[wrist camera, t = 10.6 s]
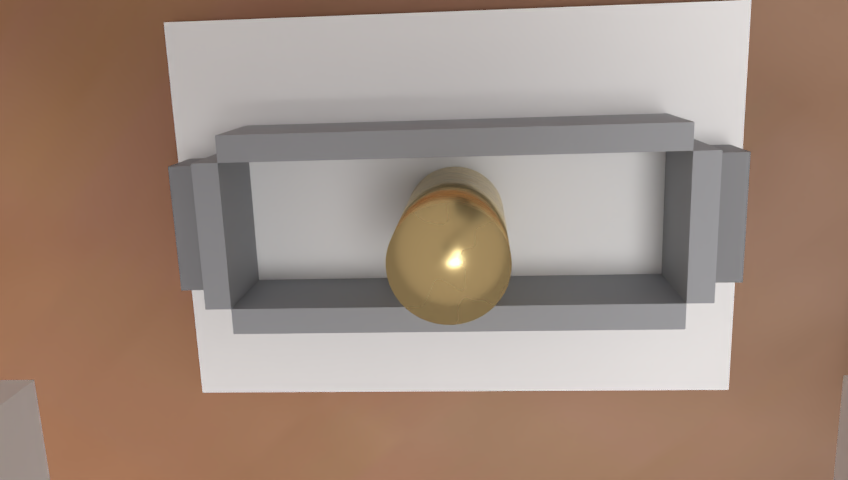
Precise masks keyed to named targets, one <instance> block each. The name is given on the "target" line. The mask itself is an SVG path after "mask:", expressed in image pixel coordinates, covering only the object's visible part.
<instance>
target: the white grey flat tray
mask: <svg viewBox="0 0 848 480" xmlns="http://www.w3.org/2000/svg"><path fill="white" fill-rule="evenodd" d="M750 16H751V0H736V1H709V2H683V3H657V4H631V5H605V6H579V7H553V8H527V9H501V10H474V11H448V12H422V13H396V14H370V15H344V16H318V17H292V18H265V19H239V20H213V21H187V22H164V30H165V40H166V49H167V59H168V68H169V78H170V87H171V97H172V106H173V116H174V125H175V135H176V144H177V154H178V163H177V164H174V165H171V166H169V167H168V171H169V180H170V189H171V199H172V208H173V217H174V226H175V236H176V245H177V254H178V263H179V272H180V282H181V290H192V296H193V306H194V315H195V325H196V334H197V344H198V353H199V363H200V372H201V382H202V391H203V393H213V392H401V391H589V390H729V374H730V357H731V340H732V323H733V306H734V289H735V282H743V268H744V251H745V235H746V218H747V202H748V186H749V169H750V153H751V152H750V151H747V150H744V149H743V135H744V118H745V101H746V84H747V67H748V50H749V33H750ZM446 167H464V168H468V169H472V170H474V171H477V172H479V173H480V174H482V175H483V176H485V177H486V178H487V179H488V180H489V181H490V182H491V183H492V184H493V185H494V186H495V188H496V189H497V191H498V193H499V195H500V197H501V200H502V204H503V209H504V215H505V221H506V227H507V234H508V240H509V246H510V252H511V260H512V271H511V277H510V281H509V284H508V287H507V289H506V291H505V293H504V295H503V296H502V298H501V299H500V301H499V302H498V303H497V304H496V305H495V306H494V307H493V308H492V309H491V310H490V311H489V312H487V313H486V314H485V315H483V316H481V317H479V318H477V319H476V320H473V321H470V322H467V323H463V324H457V325H442V324H435V323H432V322H428V321H426V320H423V319H421V318H419V317H417V316H416V315H414V314H412V313H411V312H410V311H408V310H407V309H406V308H405V307H404V306H403V305H402V304H401V303H400V302H399V300H398V299H397V298H396V296H395V295H394V293H393V291H392V289H391V287H390V285H389V282H388V278H387V274H386V253H387V249H388V245H389V242H390V240H391V238H392V235H393V233H394V231H395V229H396V227H397V225H398V222H399V220H400V218H401V216H402V214H403V212H404V209H405V207H406V205H407V203H408V201H409V199H410V196H411V194H412V192H413V191H414V189H415V187H416V186H417V185H418V183H419V182H420V181H421V180H422V179H423V178H425V177H426V176H427V175H429V174H430V173H432V172H434V171H436V170H439V169H442V168H446Z"/></svg>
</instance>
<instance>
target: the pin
mask: <svg viewBox="0 0 848 480" xmlns="http://www.w3.org/2000/svg"><path fill="white" fill-rule="evenodd" d="M511 271H512V260H511V252H510V246H509V240H508V234H507V227H506V221H505V215H504V209H503V204H502V200H501V197H500V195H499V193H498V191H497V189H496V188H495V186H494V185H493V184H492V183H491V182H490V181H489V180H488V179H487V178H486V177H485V176H483V175H482V174H480V173H479V172H477V171H474V170H472V169H468V168H464V167H446V168H442V169H439V170H436V171H434V172H432V173H430V174H429V175H427V176H426V177H425V178H423V179H422V180H421V181H420V182H419V183H418V185H417V186H416V187H415V189H414V191H413V192H412V194H411V196H410V199H409V201H408V203H407V205H406V207H405V209H404V212H403V214H402V216H401V218H400V220H399V222H398V225H397V227H396V229H395V231H394V233H393V235H392V238H391V240H390V242H389V245H388V249H387V253H386V274H387V278H388V282H389V285H390V287H391V289H392V291H393V293H394V295H395V296H396V298H397V299H398V300H399V302H400V303H401V304H402V305H403V306H404V307H405V308H406V309H407V310H408V311H410V312H411V313H412V314H414V315H416V316H417V317H419V318H421V319H423V320H426V321H428V322H432V323H435V324H442V325H457V324H463V323H467V322H470V321H473V320H476V319H477V318H479V317H481V316H483V315H485V314H486V313H487V312H489V311H490V310H491V309H492V308H493V307H494V306H495V305H496V304H497V303H498V302H499V301H500V299H501V298H502V296H503V295H504V293H505V291H506V289H507V287H508V284H509V281H510V277H511Z"/></svg>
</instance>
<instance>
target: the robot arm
mask: <svg viewBox="0 0 848 480" xmlns="http://www.w3.org/2000/svg"><path fill="white" fill-rule="evenodd" d="M0 480H50V476H49V470H48V464H47V458H46V451H45V445H44V439H43V433H42V426H41V420H40V414H39V407H38V401H37V395H36V389H35V382H34V380H0ZM834 480H848V375H844V377H843V387H842V397H841V408H840V418H839V429H838V439H837V450H836V460H835V470H834Z"/></svg>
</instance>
